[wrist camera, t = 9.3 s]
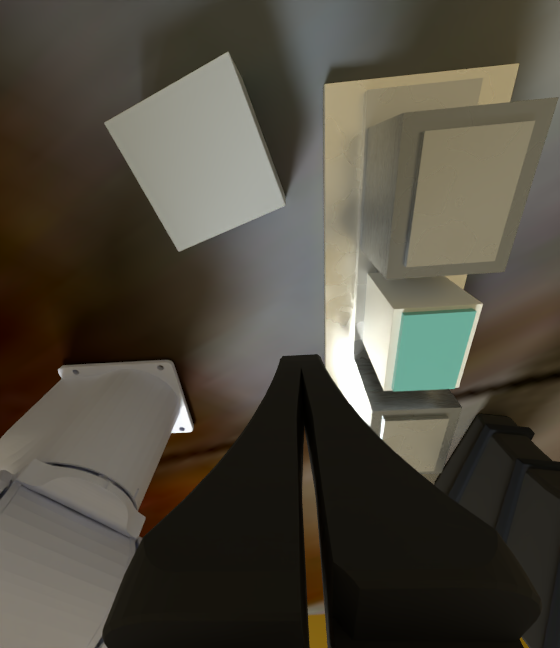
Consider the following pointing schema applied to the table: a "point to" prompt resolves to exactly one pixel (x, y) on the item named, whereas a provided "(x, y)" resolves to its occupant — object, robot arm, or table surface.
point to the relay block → (200, 154)
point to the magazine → (514, 506)
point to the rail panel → (418, 217)
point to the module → (418, 331)
